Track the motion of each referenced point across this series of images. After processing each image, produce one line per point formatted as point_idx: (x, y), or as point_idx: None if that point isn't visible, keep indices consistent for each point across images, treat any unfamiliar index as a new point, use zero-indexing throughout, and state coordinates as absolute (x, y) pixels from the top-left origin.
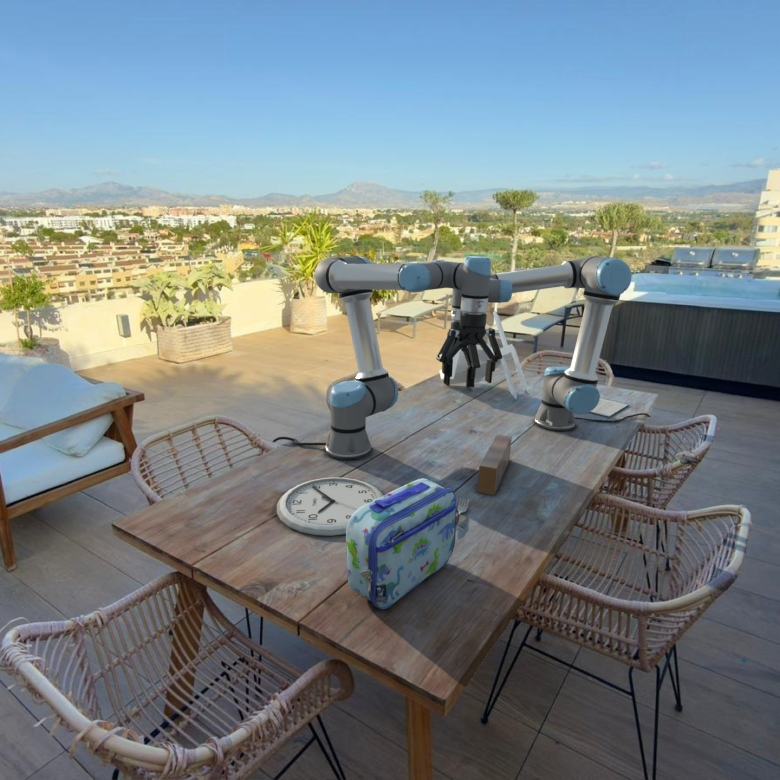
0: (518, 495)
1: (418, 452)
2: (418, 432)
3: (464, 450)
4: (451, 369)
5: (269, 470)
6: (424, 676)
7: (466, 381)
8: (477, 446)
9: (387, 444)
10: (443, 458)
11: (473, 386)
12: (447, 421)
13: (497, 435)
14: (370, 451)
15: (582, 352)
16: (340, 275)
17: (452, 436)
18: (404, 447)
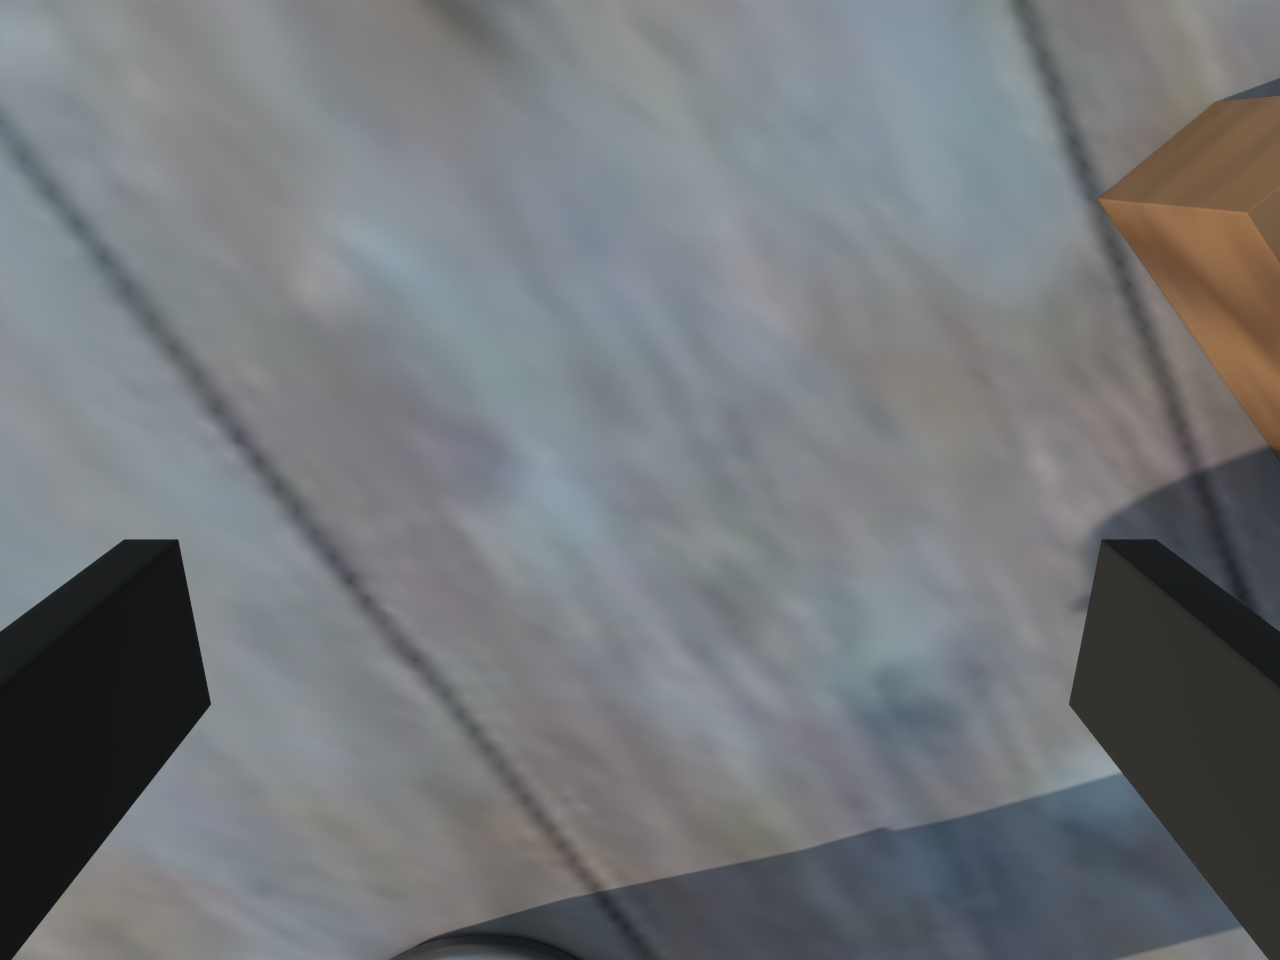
0: None
1: (700, 697)
2: (321, 517)
3: (835, 360)
4: (70, 672)
5: None
6: None
7: (1154, 799)
8: (819, 194)
9: (478, 817)
10: (879, 592)
11: (1161, 558)
12: (105, 93)
13: (1277, 227)
14: (566, 956)
15: None
16: None
17: (512, 282)
18: (575, 742)
